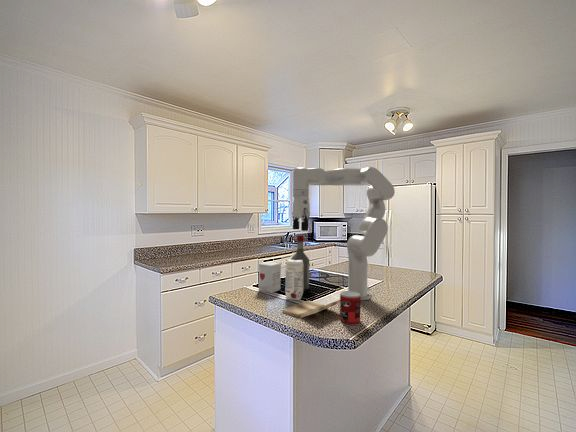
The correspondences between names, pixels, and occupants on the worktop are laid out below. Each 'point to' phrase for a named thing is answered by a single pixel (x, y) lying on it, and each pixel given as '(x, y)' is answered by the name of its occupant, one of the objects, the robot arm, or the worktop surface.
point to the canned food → (350, 307)
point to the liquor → (302, 256)
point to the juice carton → (294, 279)
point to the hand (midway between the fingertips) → (300, 229)
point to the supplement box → (269, 277)
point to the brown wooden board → (302, 308)
